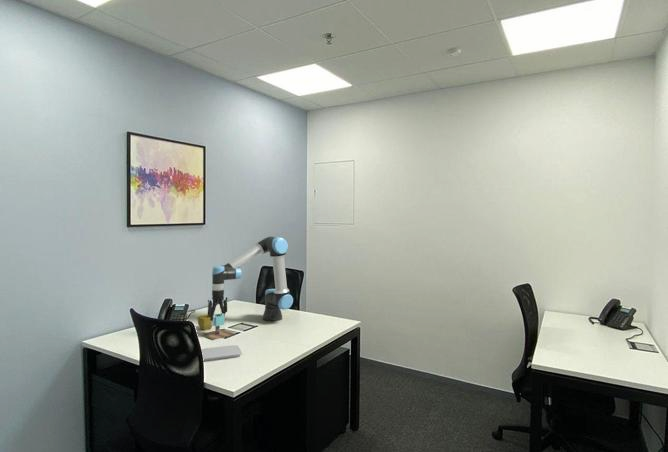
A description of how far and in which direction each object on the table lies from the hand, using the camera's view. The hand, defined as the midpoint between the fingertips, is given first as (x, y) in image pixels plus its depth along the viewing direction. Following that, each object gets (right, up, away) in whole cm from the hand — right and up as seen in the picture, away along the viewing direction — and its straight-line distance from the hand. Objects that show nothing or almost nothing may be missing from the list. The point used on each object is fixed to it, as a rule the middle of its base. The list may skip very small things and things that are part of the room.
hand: (217, 324), depth 254 cm
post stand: (0, -7, 0) cm, 7 cm away
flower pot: (-12, -7, +13) cm, 19 cm away
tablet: (+11, -9, -36) cm, 38 cm away
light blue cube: (0, 0, 0) cm, 0 cm away
